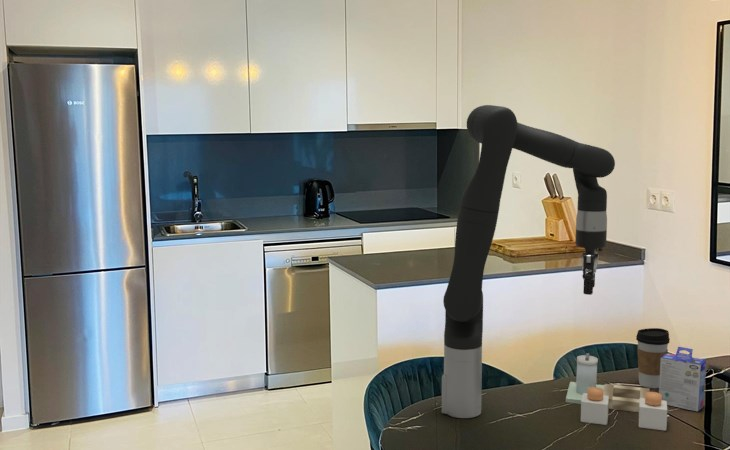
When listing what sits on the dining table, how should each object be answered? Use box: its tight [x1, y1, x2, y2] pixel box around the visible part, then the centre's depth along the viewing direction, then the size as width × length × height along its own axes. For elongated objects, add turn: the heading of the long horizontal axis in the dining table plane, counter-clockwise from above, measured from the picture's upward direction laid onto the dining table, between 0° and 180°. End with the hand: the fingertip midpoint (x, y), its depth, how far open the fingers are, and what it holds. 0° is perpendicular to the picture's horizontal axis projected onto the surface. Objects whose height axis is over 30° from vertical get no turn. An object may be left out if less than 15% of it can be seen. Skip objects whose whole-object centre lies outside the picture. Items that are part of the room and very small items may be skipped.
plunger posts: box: [580, 393, 668, 431], centre depth 176 cm, size 19×7×5 cm, turn 70°
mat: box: [565, 381, 605, 405], centre depth 193 cm, size 9×13×1 cm
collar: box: [603, 383, 651, 413], centre depth 187 cm, size 11×11×2 cm
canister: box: [575, 352, 599, 394], centre depth 192 cm, size 5×5×10 cm
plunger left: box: [587, 387, 603, 400], centre depth 177 cm, size 4×4×6 cm
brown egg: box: [645, 391, 662, 406], centre depth 174 cm, size 4×4×6 cm
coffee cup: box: [635, 327, 671, 389], centre depth 199 cm, size 8×8×15 cm
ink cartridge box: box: [658, 346, 707, 412], centre depth 185 cm, size 10×6×14 cm, turn 53°
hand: (589, 290), depth 189 cm, fingers open, 8 cm apart
